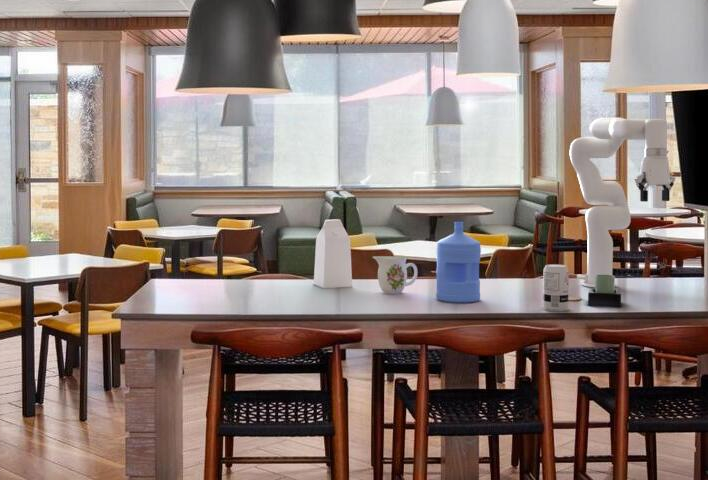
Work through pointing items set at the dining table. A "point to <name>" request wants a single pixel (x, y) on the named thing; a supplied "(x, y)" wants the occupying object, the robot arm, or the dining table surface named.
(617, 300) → the black square frame
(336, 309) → the dining table surface
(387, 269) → the pitcher
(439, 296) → the water jug
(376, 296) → the dining table surface
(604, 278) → the cup
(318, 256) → the milk
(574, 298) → the coaster
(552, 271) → the supplement can
